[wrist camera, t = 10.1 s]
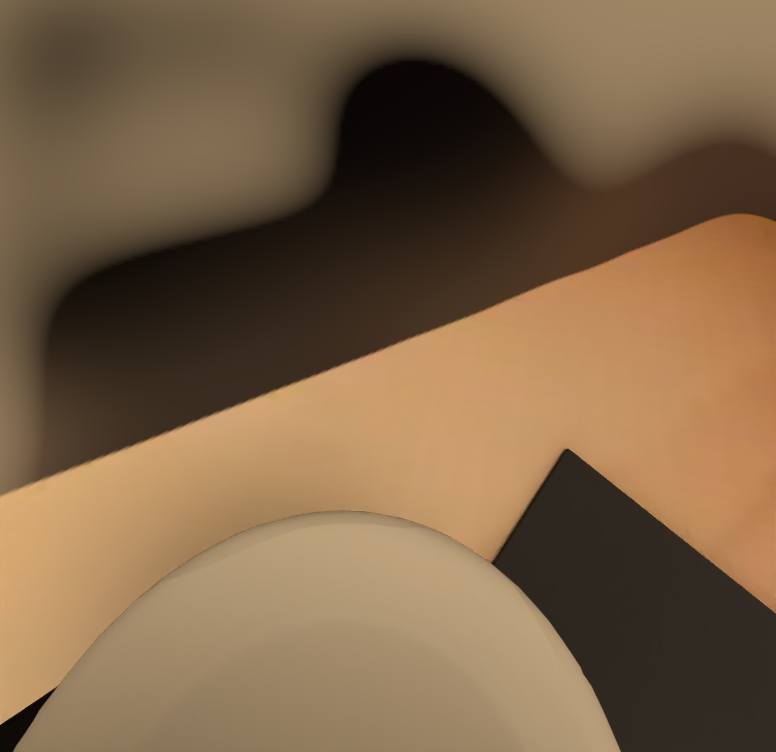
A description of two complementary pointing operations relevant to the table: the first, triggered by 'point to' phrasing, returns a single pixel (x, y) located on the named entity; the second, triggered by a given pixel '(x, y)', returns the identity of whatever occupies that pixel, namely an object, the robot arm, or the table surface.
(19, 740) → the robot arm
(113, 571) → the table surface
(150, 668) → the sprinkles bottle
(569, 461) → the desk mat
